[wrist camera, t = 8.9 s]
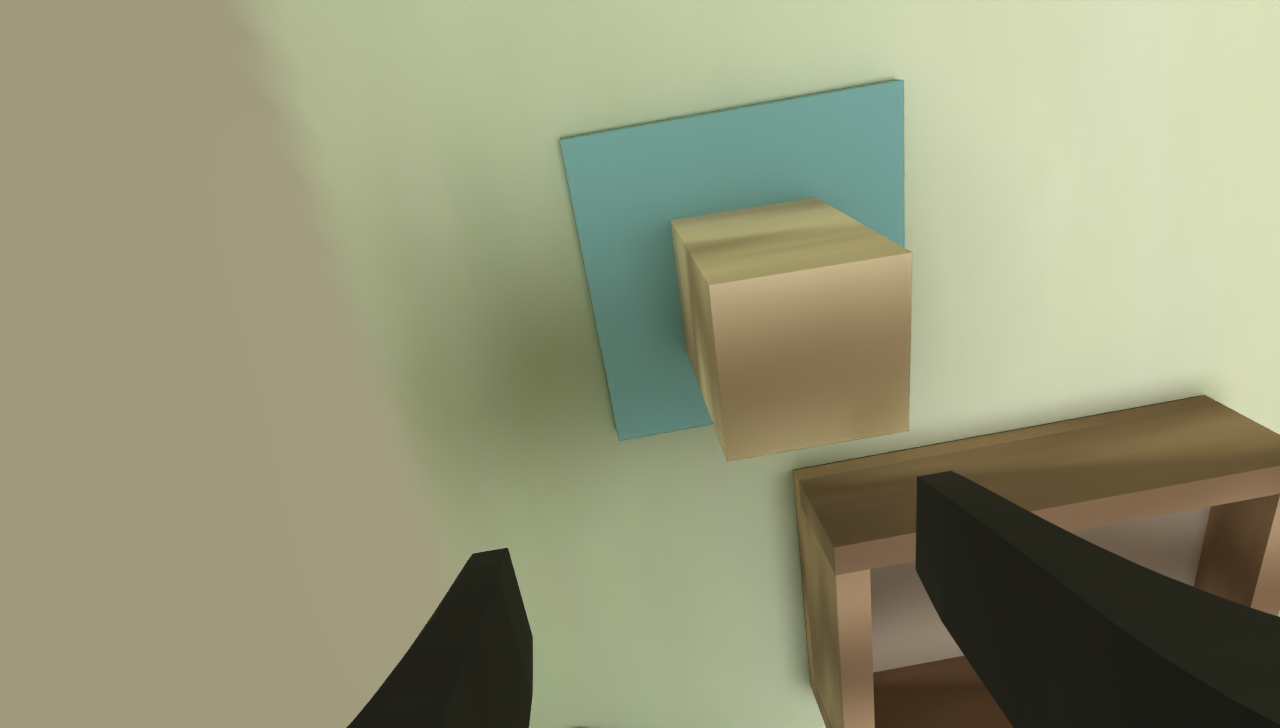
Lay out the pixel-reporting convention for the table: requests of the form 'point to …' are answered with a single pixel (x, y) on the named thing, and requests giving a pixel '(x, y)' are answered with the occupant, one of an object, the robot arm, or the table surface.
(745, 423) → the maple block
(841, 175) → the teal mat
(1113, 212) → the table surface
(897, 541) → the walnut crate
